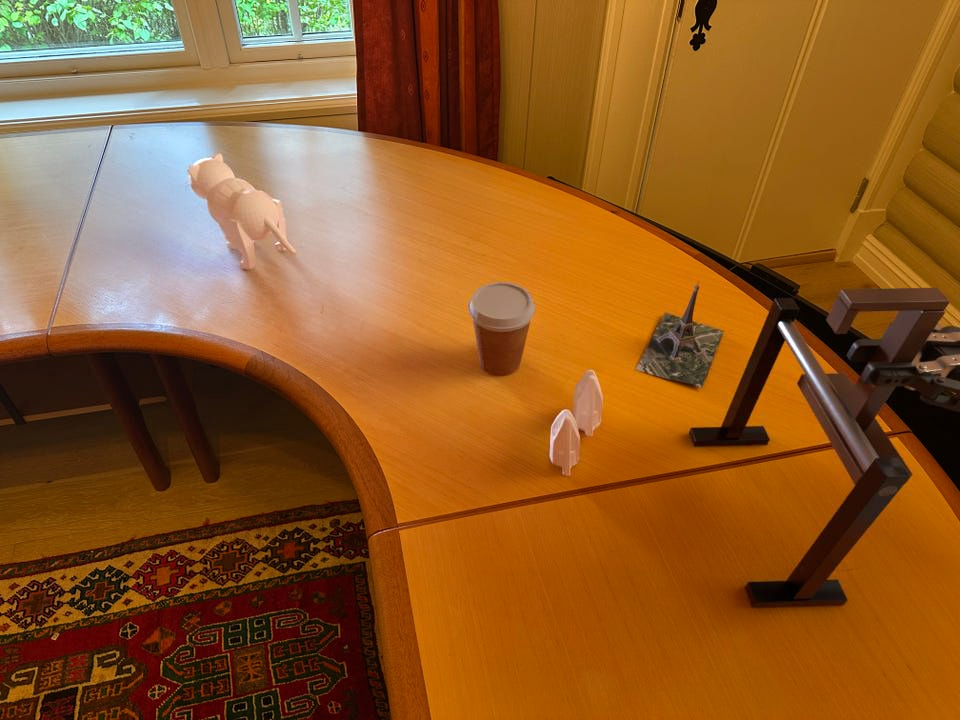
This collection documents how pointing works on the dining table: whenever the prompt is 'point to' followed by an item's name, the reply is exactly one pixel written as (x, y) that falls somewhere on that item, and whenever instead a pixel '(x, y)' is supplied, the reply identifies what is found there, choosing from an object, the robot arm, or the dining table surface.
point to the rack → (880, 473)
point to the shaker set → (576, 422)
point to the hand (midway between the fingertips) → (859, 362)
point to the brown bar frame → (898, 345)
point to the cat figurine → (238, 208)
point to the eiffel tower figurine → (681, 348)
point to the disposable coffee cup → (501, 325)
